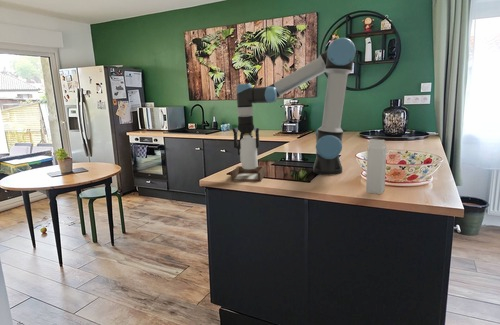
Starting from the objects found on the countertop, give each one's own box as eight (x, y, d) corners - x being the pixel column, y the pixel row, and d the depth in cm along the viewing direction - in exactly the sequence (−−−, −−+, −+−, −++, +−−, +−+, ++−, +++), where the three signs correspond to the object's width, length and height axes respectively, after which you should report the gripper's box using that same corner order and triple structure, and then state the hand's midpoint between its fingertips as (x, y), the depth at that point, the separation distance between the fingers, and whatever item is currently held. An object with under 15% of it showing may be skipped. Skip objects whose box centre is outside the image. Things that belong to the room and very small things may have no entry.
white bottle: (256, 169, 157) (254, 134, 153) (240, 169, 159) (238, 134, 155) (259, 166, 165) (257, 131, 161) (243, 166, 167) (241, 132, 163)
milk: (370, 188, 136) (371, 138, 132) (384, 190, 133) (387, 138, 128) (365, 192, 132) (367, 140, 127) (381, 194, 128) (383, 140, 123)
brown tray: (265, 174, 169) (265, 166, 168) (260, 181, 156) (260, 172, 155) (238, 174, 172) (237, 166, 171) (231, 181, 159) (230, 172, 158)
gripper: (265, 114, 158) (266, 159, 163) (229, 115, 162) (232, 159, 167) (262, 115, 151) (264, 162, 156) (225, 116, 155) (228, 162, 160)
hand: (247, 161), depth 162 cm, fingers open, 5 cm apart
